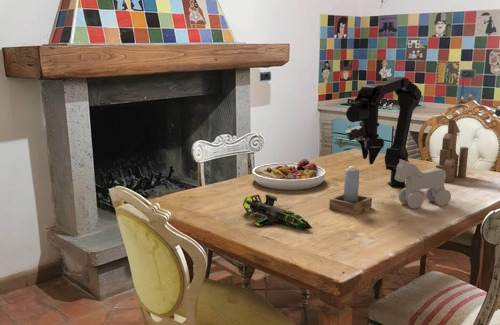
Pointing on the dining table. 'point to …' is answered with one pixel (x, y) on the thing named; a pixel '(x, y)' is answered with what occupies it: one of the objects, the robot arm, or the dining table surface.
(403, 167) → the pony
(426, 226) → the dining table surface
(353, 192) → the blue bottle
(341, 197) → the square wooden tray
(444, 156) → the wooden toy
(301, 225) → the aircraft
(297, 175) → the bowl
